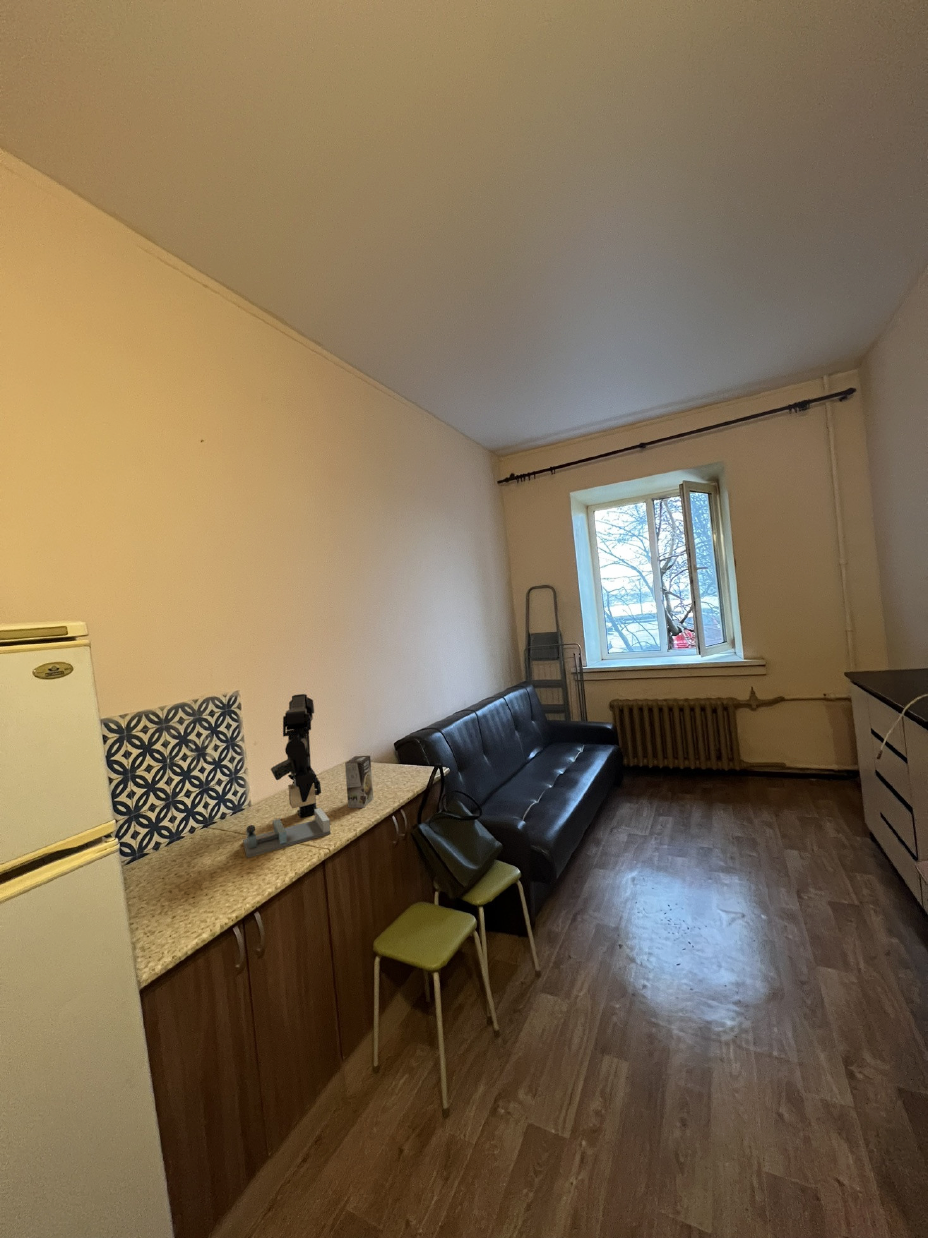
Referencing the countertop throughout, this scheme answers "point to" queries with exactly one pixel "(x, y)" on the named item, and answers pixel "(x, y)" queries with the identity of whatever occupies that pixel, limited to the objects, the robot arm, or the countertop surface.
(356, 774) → the coffee box
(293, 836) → the vise bed
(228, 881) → the countertop surface
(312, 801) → the oak block
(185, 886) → the countertop surface
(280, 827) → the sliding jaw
